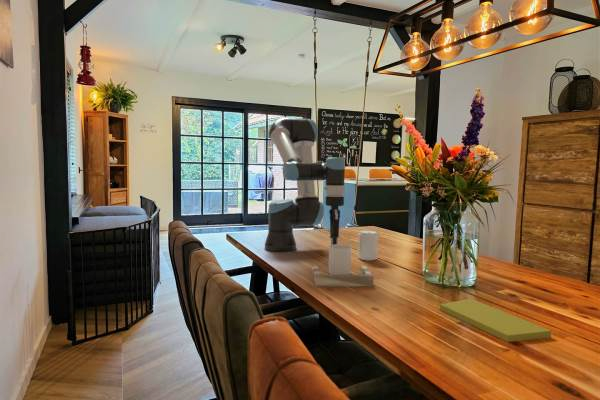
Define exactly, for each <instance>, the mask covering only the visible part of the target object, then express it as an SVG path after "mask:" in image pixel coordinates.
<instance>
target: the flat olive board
mask: <svg viewBox="0 0 600 400" xmlns="http://www.w3.org/2000/svg"><path fill="white" fill-rule="evenodd" d="M439 311H442V312H444V313H445V314H448V315H449V316H452V317H455V318H456V319H459V320H460V321H462V322H465V323H466V324H469V325H471V326H472V327H475V328H477V329H479V330H481V331H483V332H486V333H487V334H490V335H492V336H493V337H497V338H498V339H500V340H502V341H504V342H507V343H511V342H519V341H521V342H522V341H528V340H530V341H531V340H538V339H539V340H540V339H549V338H551V337H552V330H550V329H547V328H546V327H544V326H540V325H538V324H535V323H533V322H530V321H528V320H525V319H523V318H521V317H518V316H515V315H513V314H511V313H508V312H505V311H503V310H501V309H498V308H496V307H492V306H491V305H488V304H486V303H483V302H480V301H478V300H476V299H473V298H466V299H462V300H455V301H452V302H451V301H450V302H446V303H440V304H439Z"/></svg>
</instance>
